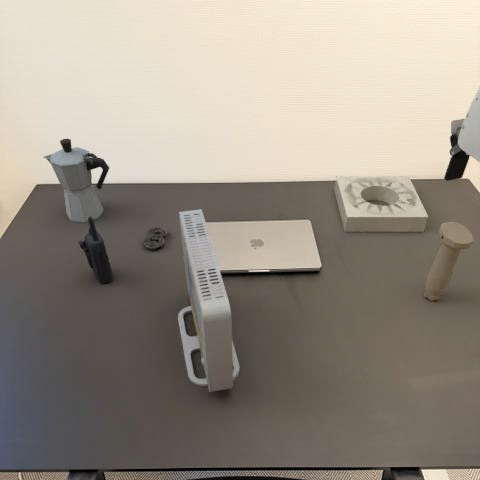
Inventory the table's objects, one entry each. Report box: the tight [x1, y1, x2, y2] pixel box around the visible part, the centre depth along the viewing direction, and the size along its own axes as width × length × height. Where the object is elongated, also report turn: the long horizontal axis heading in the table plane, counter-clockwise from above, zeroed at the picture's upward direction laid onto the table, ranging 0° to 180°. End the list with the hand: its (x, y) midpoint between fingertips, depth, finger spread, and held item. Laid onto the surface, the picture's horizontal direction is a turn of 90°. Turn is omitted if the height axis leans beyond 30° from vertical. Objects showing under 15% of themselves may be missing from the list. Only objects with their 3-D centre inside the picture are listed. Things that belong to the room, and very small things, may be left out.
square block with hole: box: [333, 175, 429, 233], centre depth 112 cm, size 18×18×4 cm
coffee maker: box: [43, 138, 110, 224], centre depth 106 cm, size 15×9×18 cm, turn 80°
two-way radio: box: [78, 216, 114, 284], centre depth 91 cm, size 6×4×15 cm
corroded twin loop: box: [141, 226, 168, 251], centre depth 104 cm, size 5×8×1 cm, turn 175°
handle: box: [423, 221, 474, 302], centre depth 86 cm, size 5×6×15 cm
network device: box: [177, 209, 240, 393], centre depth 76 cm, size 26×9×20 cm, turn 12°
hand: (471, 193), depth 75 cm, fingers open, 9 cm apart
